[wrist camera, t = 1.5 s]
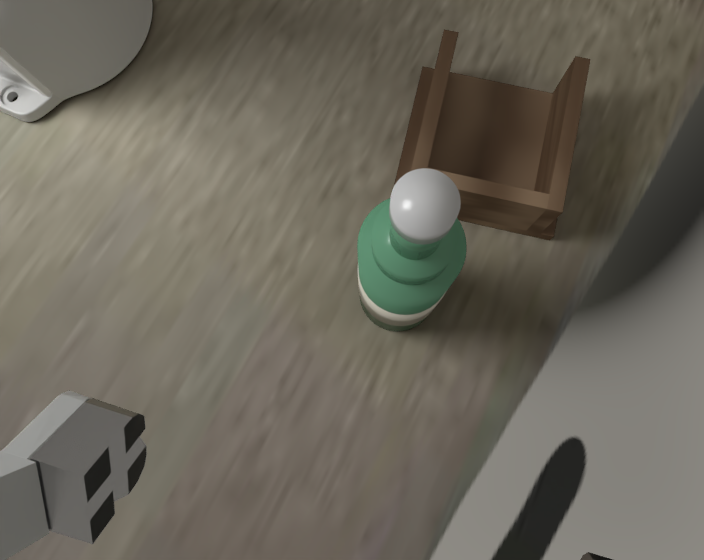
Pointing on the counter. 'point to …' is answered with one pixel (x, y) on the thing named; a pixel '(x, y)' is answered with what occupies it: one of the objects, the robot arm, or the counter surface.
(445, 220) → the green bottle
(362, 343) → the counter surface
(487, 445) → the counter surface
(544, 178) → the bottle stand
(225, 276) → the counter surface
